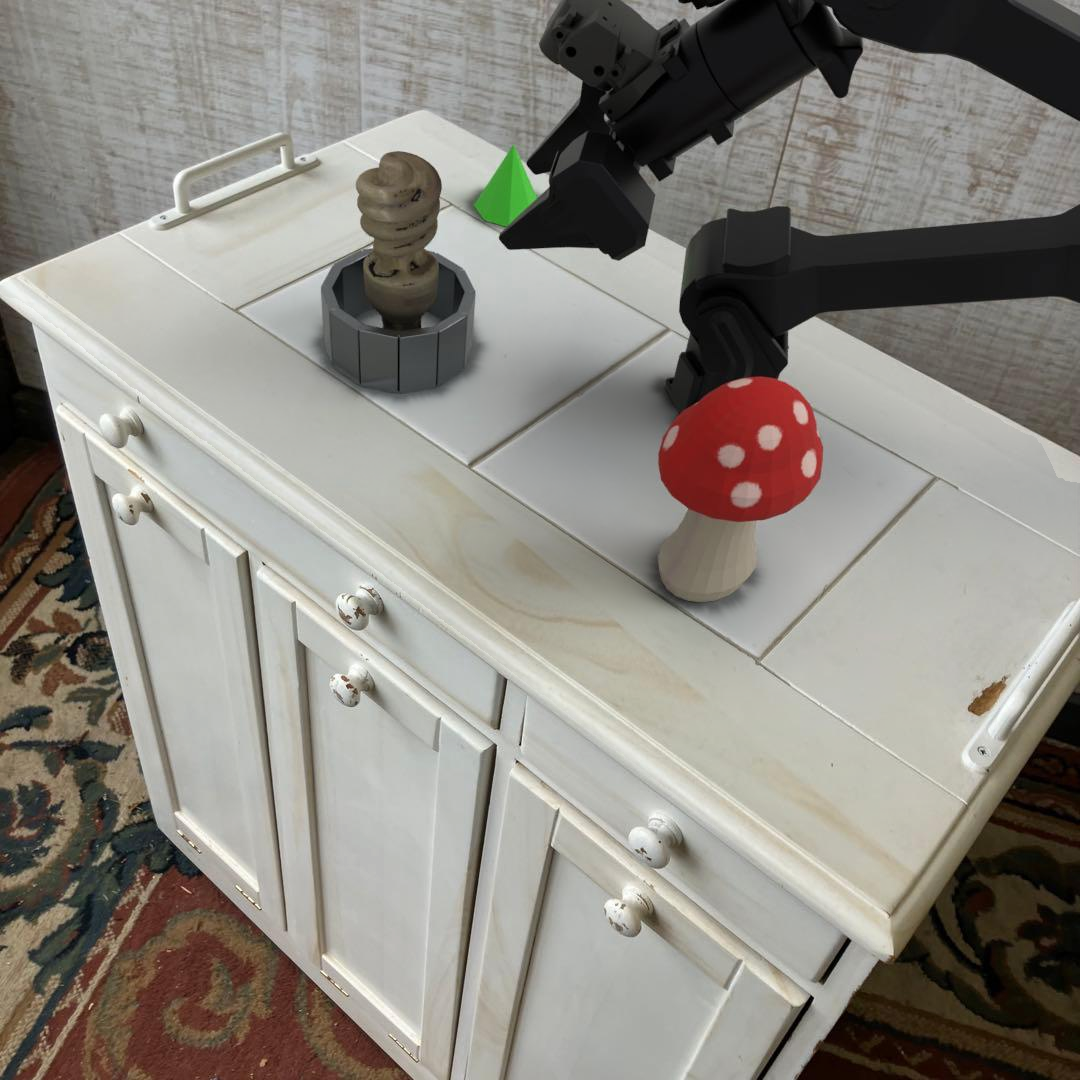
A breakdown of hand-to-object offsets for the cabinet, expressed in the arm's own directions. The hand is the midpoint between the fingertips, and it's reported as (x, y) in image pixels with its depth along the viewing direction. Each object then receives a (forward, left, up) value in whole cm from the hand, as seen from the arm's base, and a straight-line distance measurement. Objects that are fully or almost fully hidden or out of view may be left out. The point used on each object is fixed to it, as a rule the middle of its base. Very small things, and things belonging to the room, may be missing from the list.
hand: (517, 203), depth 71 cm
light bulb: (+7, -4, -14) cm, 16 cm away
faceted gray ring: (+7, -4, -13) cm, 16 cm away
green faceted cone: (-7, -20, -14) cm, 25 cm away
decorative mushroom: (-6, +22, -14) cm, 27 cm away
